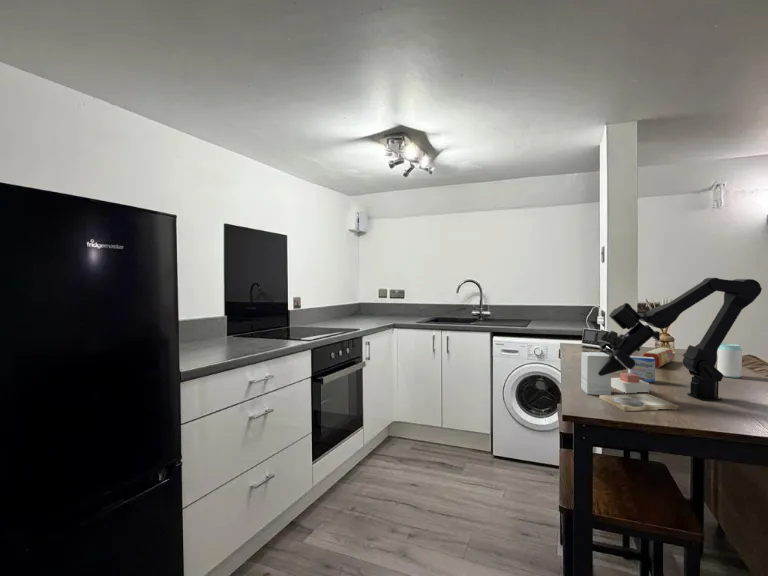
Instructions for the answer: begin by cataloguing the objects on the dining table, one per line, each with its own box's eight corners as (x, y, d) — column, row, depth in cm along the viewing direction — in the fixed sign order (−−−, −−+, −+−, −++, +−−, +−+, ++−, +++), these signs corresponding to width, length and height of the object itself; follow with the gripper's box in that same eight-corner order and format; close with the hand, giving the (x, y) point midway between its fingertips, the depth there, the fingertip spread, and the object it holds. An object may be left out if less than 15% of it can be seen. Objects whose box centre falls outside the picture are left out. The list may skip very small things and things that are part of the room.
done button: (631, 381, 143) (631, 373, 143) (639, 384, 139) (639, 375, 139) (620, 382, 143) (620, 373, 142) (627, 385, 139) (627, 376, 138)
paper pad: (648, 397, 132) (648, 393, 132) (677, 409, 120) (677, 404, 120) (599, 398, 131) (599, 394, 131) (624, 410, 119) (624, 406, 119)
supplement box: (611, 395, 133) (612, 356, 133) (586, 394, 135) (586, 355, 135) (604, 389, 141) (604, 352, 140) (580, 388, 142) (580, 351, 142)
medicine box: (629, 381, 152) (630, 357, 152) (627, 378, 156) (628, 355, 156) (655, 383, 149) (655, 358, 149) (652, 380, 153) (652, 356, 153)
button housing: (632, 386, 145) (633, 377, 145) (649, 392, 137) (649, 383, 137) (610, 386, 144) (610, 377, 144) (625, 393, 136) (625, 383, 136)
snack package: (656, 360, 190) (657, 345, 190) (674, 362, 185) (674, 347, 185) (641, 367, 175) (641, 351, 175) (659, 369, 171) (660, 353, 170)
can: (746, 378, 155) (747, 346, 154) (727, 378, 155) (727, 346, 154) (731, 374, 162) (731, 343, 161) (712, 374, 162) (713, 343, 162)
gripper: (605, 318, 145) (571, 349, 148) (624, 324, 127) (584, 359, 130) (630, 342, 144) (595, 372, 146) (652, 351, 125) (611, 386, 128)
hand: (596, 372), depth 138 cm, fingers closed on supplement box, 7 cm apart
